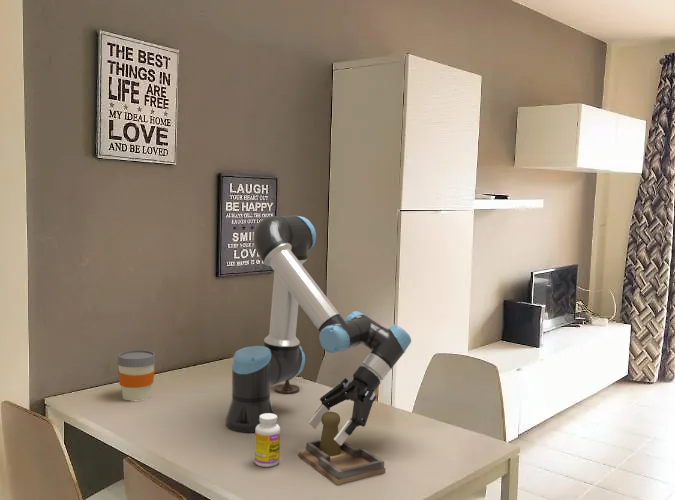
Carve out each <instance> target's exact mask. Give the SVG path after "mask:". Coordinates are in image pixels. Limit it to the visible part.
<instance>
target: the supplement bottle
mask: <svg viewBox="0 0 675 500" xmlns="http://www.w3.org/2000/svg"><path fill="white" fill-rule="evenodd" d="M259 421H260V424H258V425H257V426H256V429H255V432H254V434H255V435H254V436H255V437H254V463H255V465H257V466H259V467H263V468H271V467H275V466H277V465H278V464H279V462H280V455H281V454H280V453H281V452H280V450H281V449H280V448H281V427H280V425H279V424H278V423H277V421H278V415H277V414H275V413H274V414H272V413H265V414H261V415H260V418H259Z"/></svg>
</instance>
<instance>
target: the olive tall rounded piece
mask: <svg viewBox="0 0 675 500" xmlns="http://www.w3.org/2000/svg"><path fill="white" fill-rule="evenodd" d="M340 422H341V416H340V414H339V413H338V412H335V411H329V412H326V413H324V414H323V415H322V418H321V424H322V430H321V436H320V440H321V441H320V447H319V449H320V450H321V451H323V452H324V453H326V454H327V455H329V456H337V455H339V454H340V445H339V444H338V443H337V442H336V441H335V440H334V438H335V437H336V436H337V434H338V433H339V432H340V430H339V425H340Z"/></svg>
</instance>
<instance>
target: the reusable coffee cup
mask: <svg viewBox="0 0 675 500" xmlns="http://www.w3.org/2000/svg"><path fill="white" fill-rule="evenodd" d="M156 362H157V361H156V354H155V352H154V351H151V350H145V349H138V350H137V349H135V350H126V351H123V352H119V354H118V355H117V361H116V364H117V365H118V372H117V375H118V380H119V381H118V382H119V385H120V386H121V395H122V400H124V399H125V400H124V401H126V400H131V401H130V402H135V401H134V400H142V399H146V398H148V397H149V396H150V397H151V390H152V384H153V383H154V380H155V371H156V369H155V364H156ZM148 399H149V398H148ZM146 400H147V399H146Z"/></svg>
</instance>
